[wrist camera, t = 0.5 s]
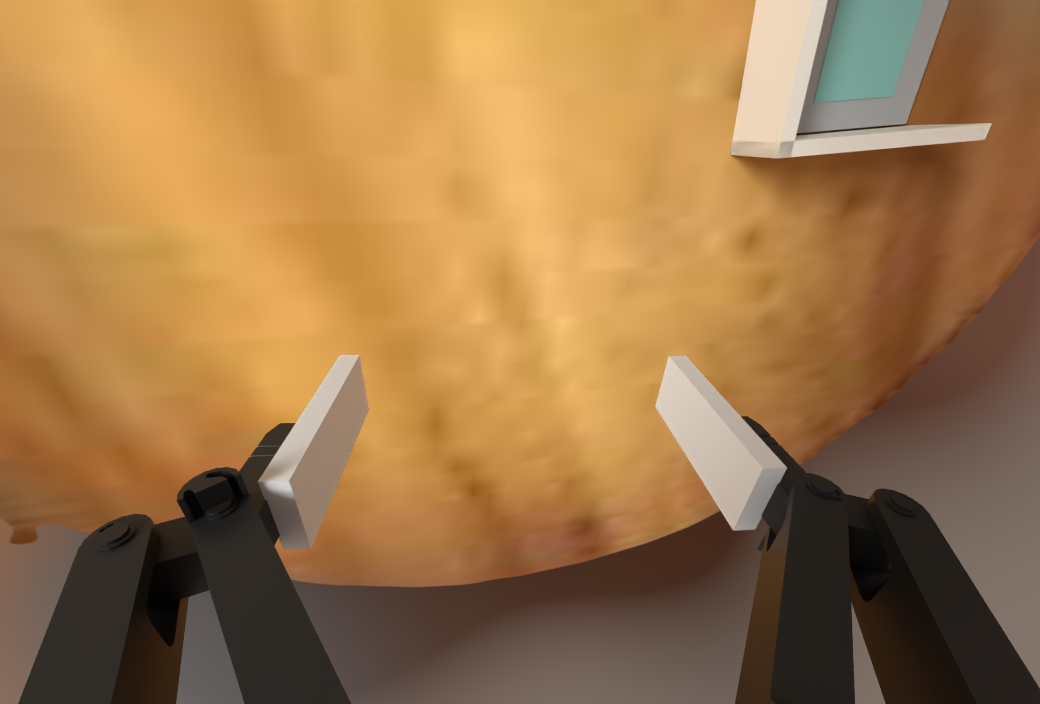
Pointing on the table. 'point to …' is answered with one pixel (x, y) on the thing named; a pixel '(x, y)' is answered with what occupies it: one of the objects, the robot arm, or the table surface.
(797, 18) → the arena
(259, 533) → the robot arm
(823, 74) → the mat
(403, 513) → the table surface
